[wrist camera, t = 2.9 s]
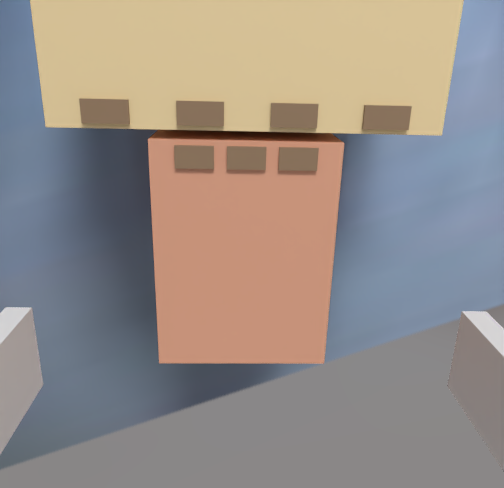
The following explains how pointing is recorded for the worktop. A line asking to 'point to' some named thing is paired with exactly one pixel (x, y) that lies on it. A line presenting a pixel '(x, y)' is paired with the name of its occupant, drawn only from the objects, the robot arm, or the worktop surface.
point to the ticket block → (247, 64)
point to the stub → (243, 243)
